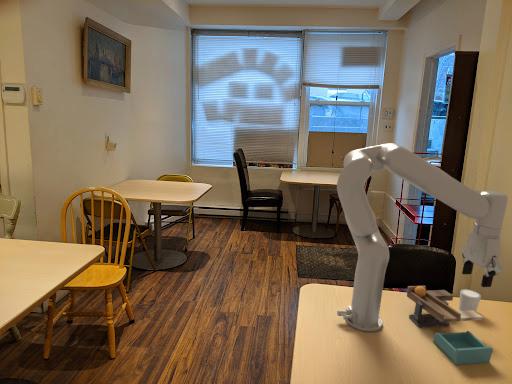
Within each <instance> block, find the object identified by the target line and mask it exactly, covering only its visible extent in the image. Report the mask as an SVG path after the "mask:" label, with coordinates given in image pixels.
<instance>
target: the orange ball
mask: <svg viewBox="0 0 512 384" xmlns="http://www.w3.org/2000/svg"><path fill="white" fill-rule="evenodd" d="M416 286H417V287H416V288H415V294H416V295H417V296H419V297H424V296H425V295H426V291H427V288H426V289H425V288H424V287H422V286H423V285H416Z"/></svg>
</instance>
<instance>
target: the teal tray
mask: <svg viewBox="0 0 512 384" xmlns="http://www.w3.org/2000/svg"><path fill="white" fill-rule="evenodd" d="M432 343H434V345H436V347H437V348H439V350H440V351H441V352H442V353H443V354H444V355H445V356H446V358H448V359H449V360H450V361H451V363H453V365H455V366H458V365H473V364H485V363H490V361H491V358H492V353H493V347H492V346H490V345H489V346H488V345H486V344H485V343H483V342H482V340H480V339H479V338H478V337H477V336H476V335H474V334H473V333H472V332H471V331H469V330H466V331H462V332H460V331H459V332H448V333H447V332H445V333H440V332H436V333H434V336H433V340H432Z"/></svg>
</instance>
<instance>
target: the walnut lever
mask: <svg viewBox="0 0 512 384" xmlns="http://www.w3.org/2000/svg"><path fill="white" fill-rule="evenodd" d="M417 286H418V285H410V286H409V285H408V286H407V290H406V297H407V298H408V299H409V300H411V301H412V302H414V303H415V304H416V301H420V302H421V303H422V304H423V309H422V310H424V311H425V312H427V314H431V315H432V316H433V317H435V318H436V319H437V320H439V321H440V322H449V323H450V322H470V321H484V316H483V315H482V314H479V313H478V312H477V311H476V312H475V311H473V310H466V311H461V310H456V309H454V308H453V307H452V306H450V305H447V304H445V303H444V302H442V301H441V300H445V301H446V302H447V301H449V302H450V301H453V300H454V295H453V294H452V293H450V292H448V291H447V290H445V289H437V290H436V289H434V290H431V289H430V290H427V287H426V285H421V286H422V287H424V288H425V289H426V295H425V296H424V297H419V296H417V295H416V294H415V288H416V287H417Z"/></svg>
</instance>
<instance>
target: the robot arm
mask: <svg viewBox="0 0 512 384" xmlns="http://www.w3.org/2000/svg"><path fill="white" fill-rule="evenodd" d="M382 170H387V171H388V172H390V173H391V174H394V175H395V176H396V177H398V178H400V179H402V180H404V181H405V182H407V183H408V184H410V185H412V186H413V187H415V188H417V189H418V190H420V191H422V192H424V193H425V194H427V195H429V196H430V197H433V198H435V199H437V200H438V201H440V202H442V203H443V204H445V205H447V206H448V207H450V208H451V209H453V210H455V211H457V212H458V213H460V214H462V215H463V216H465V217H467V218H468V219H469V218H470V219H474V221H473V226H472V227H473V228H472V229H471V230H470V232H469V233H468V235H467V238H466V241H465V245H464V246H461V247H460V248H461V253H462V255H461V256H462V258H463V259H462V262H463V267H462V272H461V274H462V275H472V273H473V270H474V264H475V265H476V266H477V267H480V268H483V271H484V274H483V275H482V279H481V283H480V286H481V287H482V288H490V287H492V284H493V280H494V277H495V276H498V275H499V274H500V273H501V272H502V271H503V269H504V268H503V266H502V265H501V263H500V262H499V259H500V252H501V251H500V250H501V238H500V236H501V233H502V228H503V224H504V219H505V216H506V211H507V207H508V201H509V196H508V195H507V194H506V193H504V192H499V191H495V190H478V189H474V188H473V189H472V188H470V187H468V186H467V185H466V184H464V183H462V182H460V181H459V180H457V179H456V178H455V177H452V176H451V175H450V174H448V173H447V172H445V171H444V170H443V169H441V168H439V167H438V166H436V165H434V164H433V163H431V162H430V161H427V160H425V158H422V157H420V156H419V155H417V154H416V153H415V152H413V151H411V150H409V149H408V148H406V147H404V146H402V145H400V144H397V143H392V142H389V143H383V144H380V145H374V146H368V147H364V148H358V149H354V150H351V151H349V152H348V153H347V154H346V155H345V157H344V159H343V168H342V170H341V171H340V173H339V174H338V175H339V176H338V178H337V182H336V191H337V195H338V199H339V202H340V205H341V207H342V209H343V213H344V217H345V222H346V224H347V226H348V229H349V231H350V234H351V237H352V240H353V241H354V243H355V244H354V245H355V247H356V250H357V255H358V256H357V263H356V268H355V273H354V280H353V281H354V283H353V288H352V289H353V290H352V297H351V305H348V308H347V309H345V310H343V309H340V310H339V309H338V310H337V311H336V315H337V317H342V318H343V320H345V321H346V322H347V324H348V325H349V326H350V327H352V328H354V329H356V330H357V331H358V330H359V331H362V332H368V333H370V332H377V331H379V330H380V329H382V328H383V323H384V322H383V320H382V318H381V317H380V316H379V315H380V311H381V303H382V297H383V289H384V282H385V275H386V272H387V271H386V270H387V267H388V263H389V262H390V261H389V260H390V250H389V247H388V245H387V243H386V241H385V239H384V238H383V236H382V234H381V233H380V230H379V227H378V224H377V216H376V214H375V212H374V211H373V209H372V207H371V205H370V201H369V198H368V195H367V193H366V189H365V187H366V186H365V184H366V182H367V180H368V179H369V178H370V177H371V175H372V174H373V172H375V171H376V172H377V171H382Z"/></svg>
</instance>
